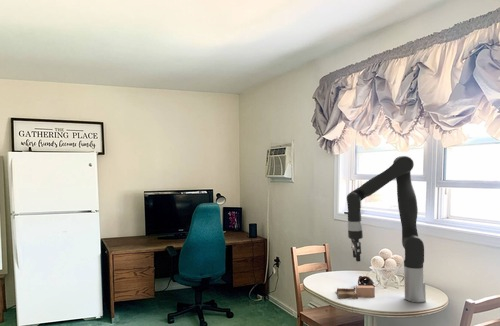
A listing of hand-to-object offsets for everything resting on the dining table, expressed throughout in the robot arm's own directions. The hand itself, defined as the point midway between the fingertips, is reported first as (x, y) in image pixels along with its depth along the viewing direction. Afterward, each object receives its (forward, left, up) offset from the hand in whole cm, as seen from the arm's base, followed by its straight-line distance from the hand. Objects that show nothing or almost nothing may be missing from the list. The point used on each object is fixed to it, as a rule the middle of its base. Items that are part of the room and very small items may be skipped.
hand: (356, 259), depth 193 cm
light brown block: (-4, -1, -20) cm, 21 cm away
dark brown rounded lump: (-7, -13, -20) cm, 25 cm away
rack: (+5, -1, -20) cm, 21 cm away
